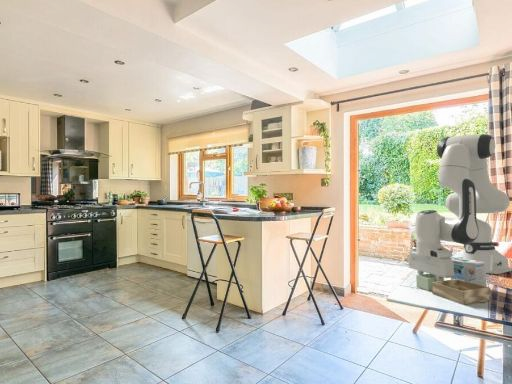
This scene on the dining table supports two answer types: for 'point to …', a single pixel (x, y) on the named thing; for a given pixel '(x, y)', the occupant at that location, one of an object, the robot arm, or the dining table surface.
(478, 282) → the light bulb box
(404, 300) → the dining table surface
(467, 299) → the birch crate
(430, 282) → the green crate
